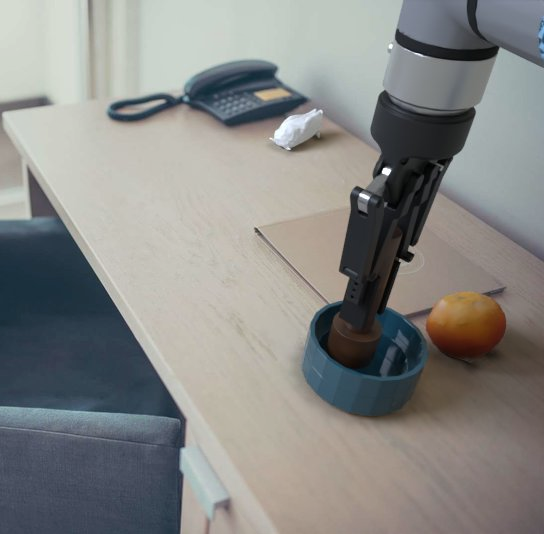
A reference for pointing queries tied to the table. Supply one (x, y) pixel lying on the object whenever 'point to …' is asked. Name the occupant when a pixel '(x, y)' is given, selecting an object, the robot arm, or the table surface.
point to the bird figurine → (298, 129)
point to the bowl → (374, 378)
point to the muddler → (363, 344)
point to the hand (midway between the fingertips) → (361, 314)
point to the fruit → (466, 325)
